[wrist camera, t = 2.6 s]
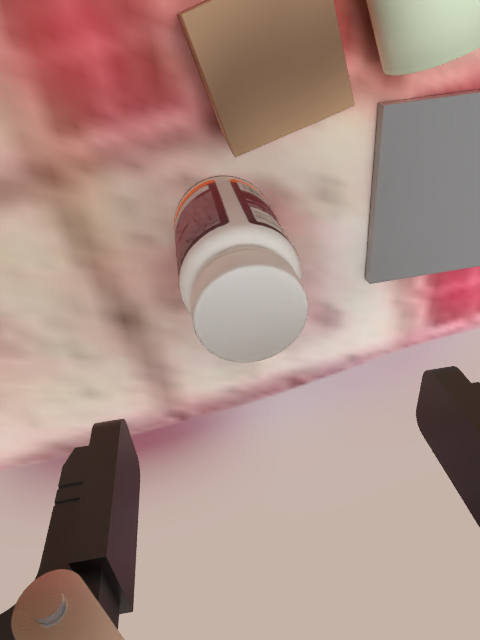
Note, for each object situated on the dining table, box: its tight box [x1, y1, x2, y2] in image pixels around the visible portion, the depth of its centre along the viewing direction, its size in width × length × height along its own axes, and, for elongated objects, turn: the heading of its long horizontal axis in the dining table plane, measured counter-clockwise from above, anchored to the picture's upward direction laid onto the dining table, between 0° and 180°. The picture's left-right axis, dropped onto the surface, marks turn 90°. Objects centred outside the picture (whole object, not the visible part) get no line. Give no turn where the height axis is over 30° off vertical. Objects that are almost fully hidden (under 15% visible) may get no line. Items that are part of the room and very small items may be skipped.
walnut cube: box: [177, 0, 355, 157], centre depth 16 cm, size 4×4×4 cm
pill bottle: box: [174, 176, 308, 362], centre depth 19 cm, size 5×5×8 cm
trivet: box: [365, 89, 480, 284], centre depth 23 cm, size 9×9×1 cm
